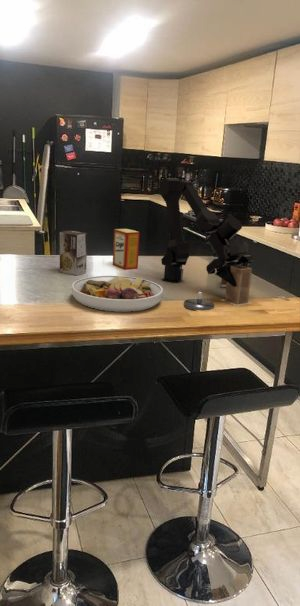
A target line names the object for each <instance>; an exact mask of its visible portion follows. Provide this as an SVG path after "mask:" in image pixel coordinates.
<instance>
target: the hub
mask: <svg viewBox="0 0 300 606" xmlns="http://www.w3.org/2000/svg"><path fill="white" fill-rule="evenodd" d="M183 308H185V309H186V310H190V311H194V312H197V311H210V310H213V309H214V308H215V303H214V302H212V301H210V300H206V299H203V291H197V297H196V298H189V299H185V300H184V301H183Z"/></svg>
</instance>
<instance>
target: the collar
mask: <svg viewBox="0 0 300 606" xmlns="http://www.w3.org/2000/svg"><path fill="white" fill-rule="evenodd" d="M231 273H232V275H233V277H234V279H235V282H236V285H237V286H236V287H233V286H232V285H231V284H229V283H228V282H227V285H226V289H225V294H224V295H225V296H224V299H225V301H228V302H231V303H234V304H237V305H238V304H243V303H248V301H249V296H250V287H251V283H252V282H251V281H252V273H253V268H252V267H249V266H247V267H245V266H241V265H236V266H231Z"/></svg>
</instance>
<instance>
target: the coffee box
mask: <svg viewBox="0 0 300 606" xmlns="http://www.w3.org/2000/svg"><path fill="white" fill-rule="evenodd" d="M87 243H88V232H83V231H82V232H81V231H76V230H65V231H59V272H60V273H63V274H68V275H73V276H79V275H84V274H87V257H88V256H87V250H88V247H87V245H88V244H87Z"/></svg>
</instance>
